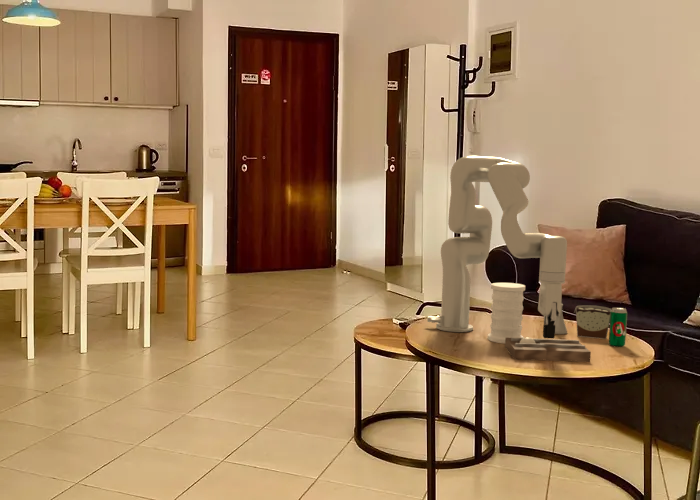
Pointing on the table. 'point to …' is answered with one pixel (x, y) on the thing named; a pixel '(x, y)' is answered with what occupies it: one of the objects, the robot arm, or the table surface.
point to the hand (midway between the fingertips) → (548, 337)
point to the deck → (548, 350)
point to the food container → (592, 321)
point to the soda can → (618, 327)
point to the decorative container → (506, 311)
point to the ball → (527, 340)
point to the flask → (560, 324)
